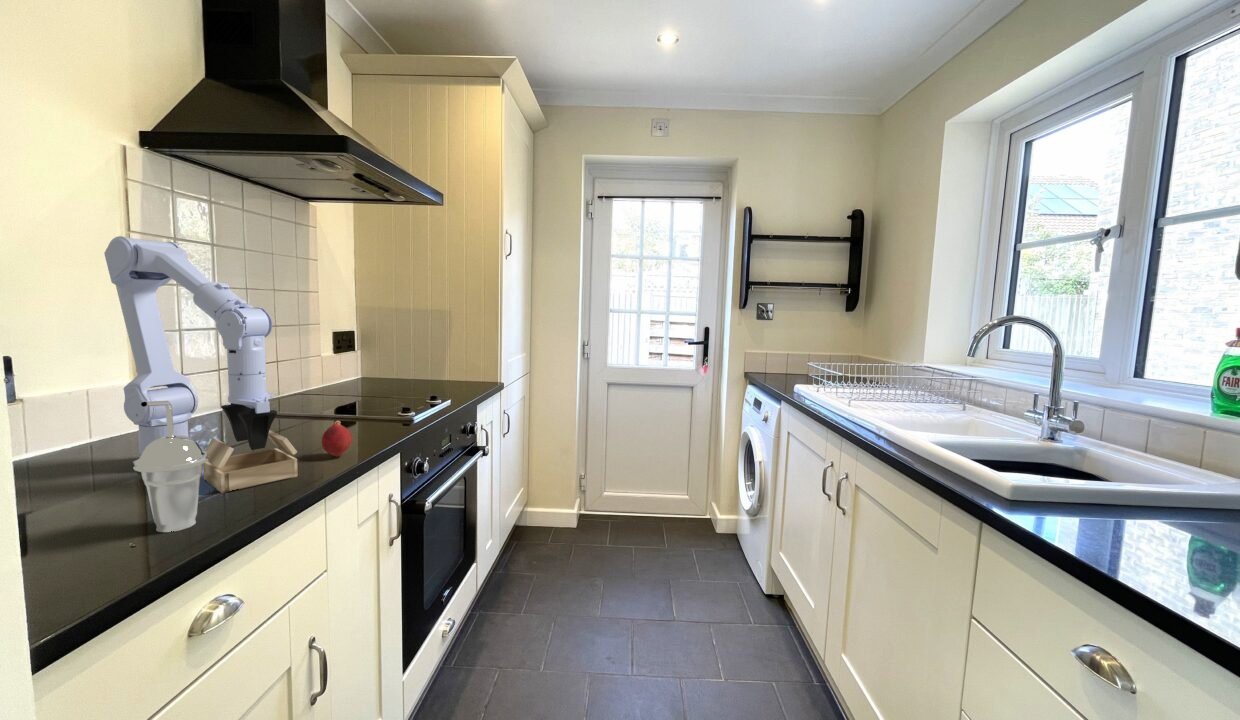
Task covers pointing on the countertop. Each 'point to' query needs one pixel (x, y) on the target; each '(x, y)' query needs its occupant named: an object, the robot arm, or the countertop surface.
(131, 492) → the countertop surface
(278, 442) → the flap
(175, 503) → the cup with straw
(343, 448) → the red rounded oval piece
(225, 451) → the flap
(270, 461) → the carton
